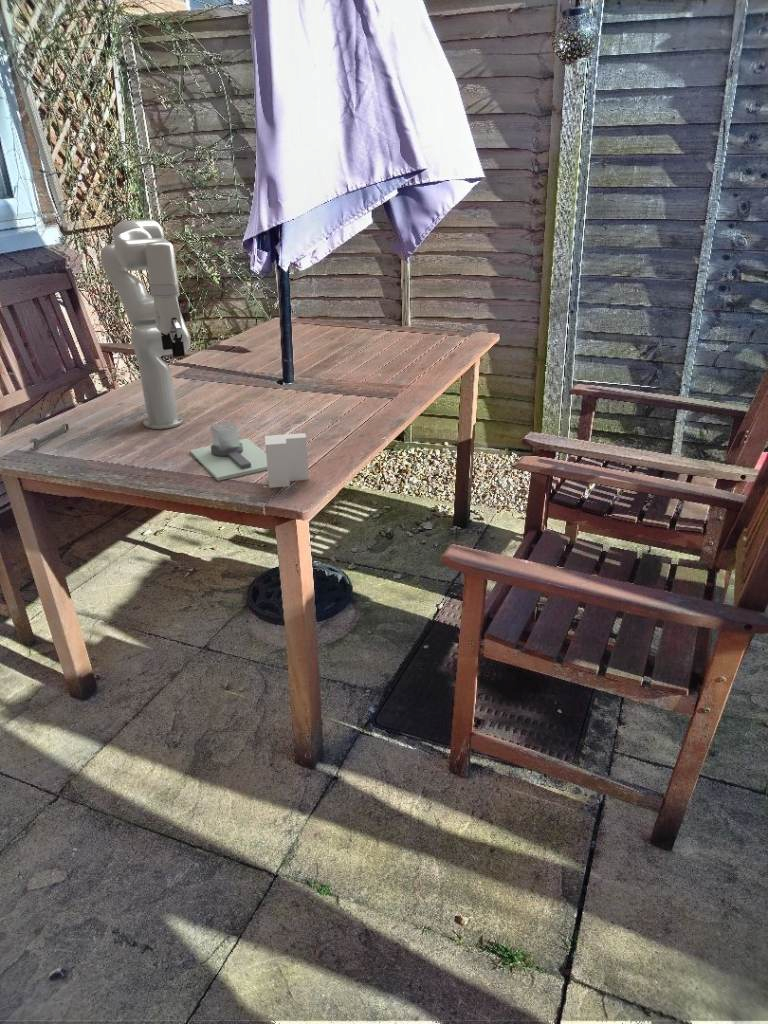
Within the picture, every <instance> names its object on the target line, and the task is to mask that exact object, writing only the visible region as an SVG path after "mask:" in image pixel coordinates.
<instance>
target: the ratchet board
mask: <svg viewBox="0 0 768 1024" xmlns="http://www.w3.org/2000/svg"><path fill="white" fill-rule="evenodd" d="M239 442H240V447H239V448H234V449H229V450H224V451H219V450H218V449H217V448H216V447H215V446H214V445H213V444H211V445H207V446H202V447H198V448H193V449H189V454H190V455H191V456H192V457H193V456H194V457H193V458H194V459H195V460H196V459H197V460H198V461H199V462H200V463H201V464H202V465H203V466H204V467H205V468H206V469H205V468H204V467H203V466H202V465H201V464H200V463H199V462H198V461H197V460H196V461H197V462H198V463H199V464H200V465H201V466H202V467H203V468H204V469H205V471H207V472H208V473H209V474H210V475H211V476H212V477H213V478H214V479H215V480H216V481H218V482H219V481H223V480H228V479H232V478H236V477H237V478H238V477H241V476H246V475H251V474H254V473H259V472H260V473H261V472H264V471H268V468H267V457H266V451H264V449H262V448H260V447H259V446H258V445H257V444H256V443H254V442H253V441H251V440H250V439H249V438H243V439H242V438H241V439H239Z"/></svg>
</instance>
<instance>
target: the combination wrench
mask: <svg viewBox="0 0 768 1024" xmlns="http://www.w3.org/2000/svg"><path fill="white" fill-rule="evenodd" d="M69 429H70V426H69V424H68V423H62V425H61V427H60V428H58V429H55V430H54V431H52V432H50V433H48V434H46V435H44V436H42V437H41V438H39V439H37V438H36V437H34V438H31V439H30V440H29V442H30V443H33V447H31V448H29V450H30V451H33V452H35V451H37V450H38V449H39V447H40V446H41V445H42V444H44V443H45V442H47V441H49V440H51V439H53V438H55V437H56V436H59V435H60V434H63V433H67V432H68V431H69Z"/></svg>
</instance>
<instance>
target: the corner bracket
mask: <svg viewBox="0 0 768 1024" xmlns="http://www.w3.org/2000/svg"><path fill="white" fill-rule="evenodd" d="M307 442H308V441H307V434H306V433H305V432H303V433H302V432H301V433H286V434H276V435H275V434H273V435H264V445H265V446H264V447H265V453H266V457H267V468H268V470H267V477H268V488H282V487H283V488H285V487H290V486H291V485H290V482H291V481H292V482H294V481H295V482H296V481H306V480H310V475H309V473H310V472H309V462H308V461H309V460H308V458H309V457H308V445H307V444H308V443H307Z"/></svg>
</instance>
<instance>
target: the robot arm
mask: <svg viewBox="0 0 768 1024" xmlns="http://www.w3.org/2000/svg"><path fill="white" fill-rule="evenodd" d="M112 238H113V240H114V242H113V243H111V244H107V245H105V246H103V248H102V249H101V251H100V262H101V265H102V268H103V271H104V274H105V276H106V278H107V279H108V281H109V282H110V283H111V285H112V287H114V289H115V290H116V292H117V293H118V295H119V298H120V301H121V303H122V306H123V309H124V312H125V314H126V316H127V320H129V323H130V324H131V326H132V327H134V329H133V330H132V332H131V335H130V336H131V337H130V339H131V344H132V348H133V350H134V353H135V357H136V359H137V364H138V368H139V374H140V380H141V386H142V387H141V389H142V393H143V399H144V404H145V405H144V406H145V411H146V416H147V418H145V419H144V420H143V422H142V423H143V426H144V427H145V428H147V429H152V430H165V429H171V428H176V427H177V426H180V425H182V424H183V423H184V417H183V416H182V415H180V414H178V409H177V400H176V394H175V387H174V382H173V374H172V369H171V367H170V365H169V364H168V363H167V362H166V361H164V359H162V356H166V355H167V356H168V355H172V357H173V358H177V357H185V354H186V352H187V351H189V349H190V348H191V342H192V341H191V336H190V333H189V330H188V328H187V324H186V322H185V319H184V318H183V315H182V312H181V309H180V305H179V301H178V297H179V296H180V295H181V294H180V293H181V292H180V285H179V278H178V277H179V276H178V271H177V263H176V255H175V248H174V245H173V244H172V243H171V242H170V241H169V240H168V239H166V238H165V233H164V230H163V227H162V226H161V225H160V223H159V222H157V221H156V220H154V219H134V220H133V219H132V220H123V221H120V222H118V223H116V224H115V226H114V227H113V230H112ZM143 270H147V275H148V281H149V288H150V294H149V293H148V290H147V288H146V285H145V284H144V282H143V281H141V280H140V279H139V278H138V277H137V276H135V275H134V274H132V273H130V272H131V271H132V272H133V271H143Z"/></svg>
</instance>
